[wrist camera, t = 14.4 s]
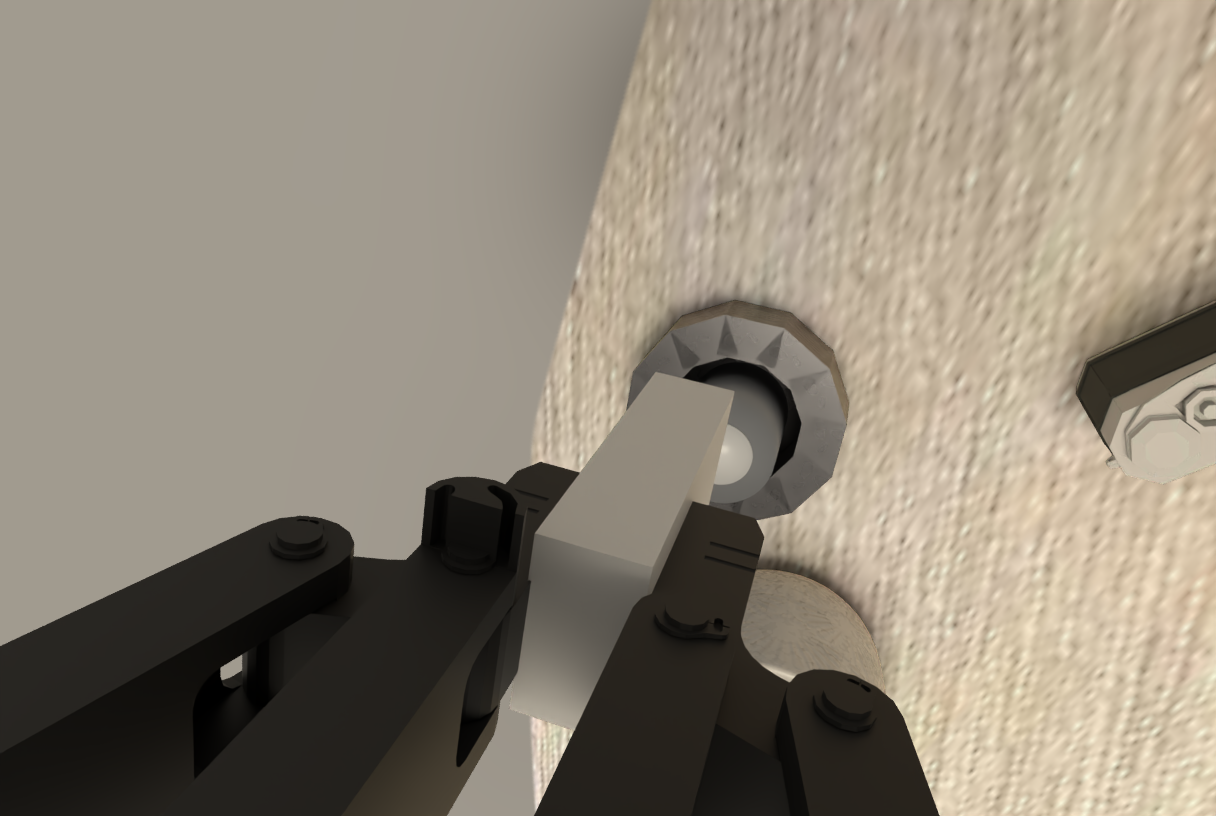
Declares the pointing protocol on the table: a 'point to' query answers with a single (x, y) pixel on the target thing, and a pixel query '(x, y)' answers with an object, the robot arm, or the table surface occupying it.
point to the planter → (806, 629)
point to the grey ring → (797, 369)
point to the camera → (1157, 398)
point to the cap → (748, 430)
